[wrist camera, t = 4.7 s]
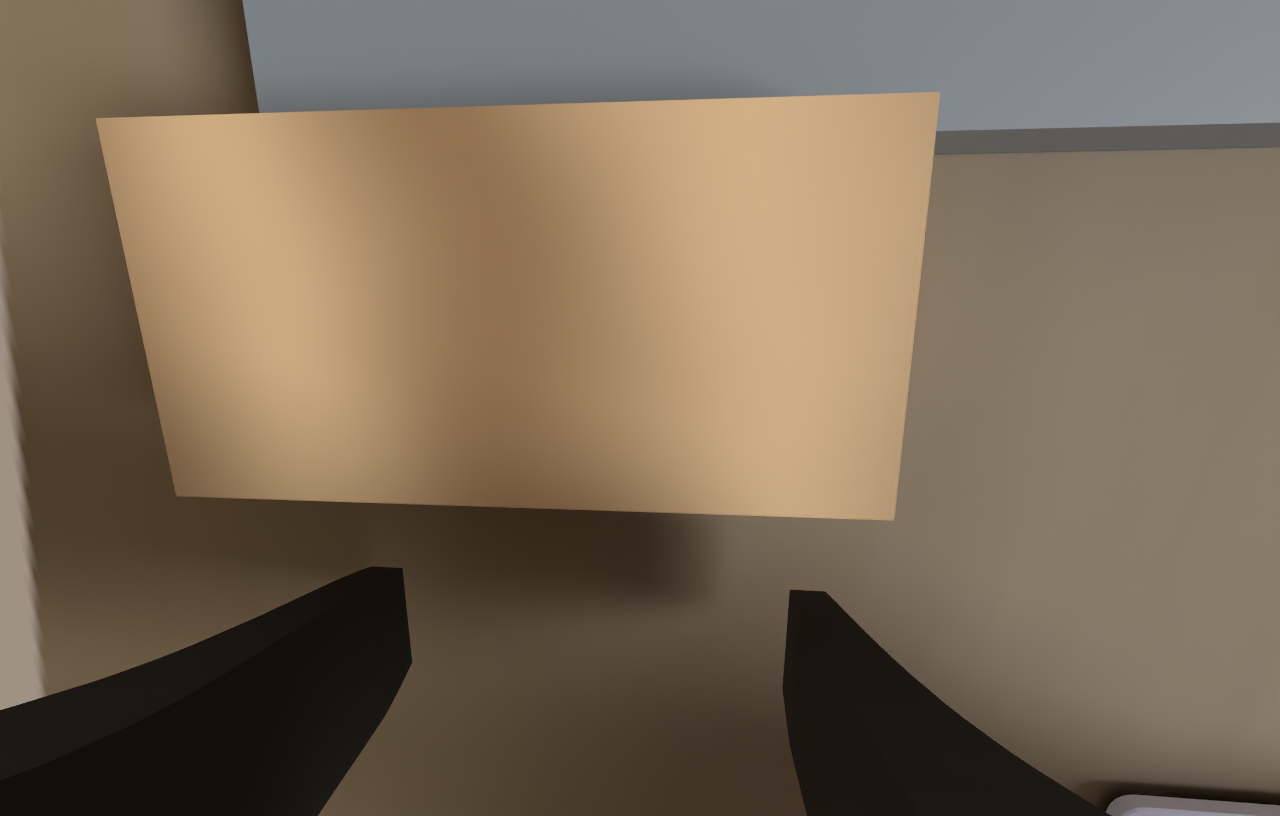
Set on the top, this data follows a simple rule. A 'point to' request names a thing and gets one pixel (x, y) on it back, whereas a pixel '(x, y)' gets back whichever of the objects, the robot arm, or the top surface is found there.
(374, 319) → the oak bar
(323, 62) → the slate board
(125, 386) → the top surface
